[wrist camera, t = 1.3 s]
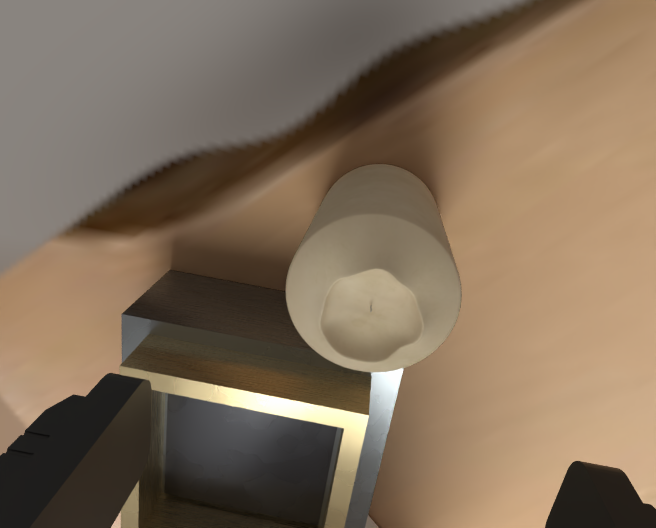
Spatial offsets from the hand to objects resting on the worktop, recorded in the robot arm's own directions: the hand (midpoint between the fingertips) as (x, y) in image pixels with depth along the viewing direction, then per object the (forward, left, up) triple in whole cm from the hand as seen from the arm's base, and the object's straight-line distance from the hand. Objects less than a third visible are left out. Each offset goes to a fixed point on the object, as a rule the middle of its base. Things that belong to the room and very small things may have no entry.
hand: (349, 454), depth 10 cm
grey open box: (+4, +10, -15) cm, 19 cm away
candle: (0, 0, -16) cm, 16 cm away
